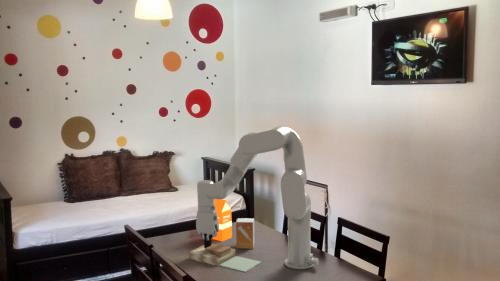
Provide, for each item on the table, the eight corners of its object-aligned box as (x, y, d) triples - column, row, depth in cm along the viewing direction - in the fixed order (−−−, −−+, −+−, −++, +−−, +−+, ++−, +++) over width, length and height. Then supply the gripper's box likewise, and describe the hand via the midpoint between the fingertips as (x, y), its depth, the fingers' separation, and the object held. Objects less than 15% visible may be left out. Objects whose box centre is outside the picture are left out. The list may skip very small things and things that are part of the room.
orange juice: (222, 241, 232) (221, 202, 229) (209, 238, 237) (207, 199, 234) (232, 237, 238) (231, 198, 235) (219, 233, 243) (217, 196, 241)
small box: (236, 248, 222) (235, 221, 220) (238, 244, 228) (237, 217, 226) (253, 248, 221) (253, 222, 219) (254, 244, 227) (254, 218, 225)
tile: (231, 251, 209) (230, 247, 209) (221, 256, 203) (221, 252, 203) (215, 247, 214) (214, 243, 214) (205, 252, 208) (205, 248, 208)
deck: (235, 256, 212) (235, 249, 212) (217, 265, 202) (217, 258, 201) (207, 249, 221) (207, 243, 221) (189, 258, 210) (189, 251, 210)
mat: (261, 262, 204) (261, 261, 204) (245, 272, 194) (245, 271, 194) (235, 256, 212) (235, 255, 212) (219, 265, 202) (219, 264, 202)
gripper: (224, 208, 209) (226, 248, 211) (199, 204, 217) (200, 242, 220) (214, 212, 203) (215, 253, 205) (188, 207, 211) (189, 247, 213)
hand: (207, 247), depth 212 cm, fingers closed
